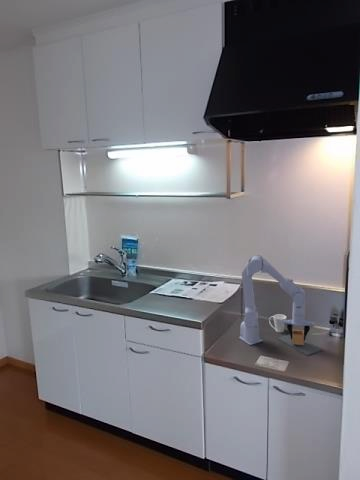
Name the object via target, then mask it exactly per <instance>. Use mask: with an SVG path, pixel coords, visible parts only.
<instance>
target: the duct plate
mask: <svg viewBox="0 0 360 480" xmlns="http://www.w3.org/2000/svg"><path fill="white" fill-rule="evenodd" d="M277 340H279V341H280V342H282V343H283V344H286V345H288V346H289V347H291V348H293V349H294V350H295V351H297V352H299V353H301V354H303V355H305V356H306V357H309V356H312V355H314V354H316V353H319V352H322V351H323V350H324V348H322V347H320V346H318V345H316V344H315V343H312V342H310V341H308V340H306V339H305V341H304V345H298V344H292V339H291V336H290V333H288V334H285V335H282V336H279V337H277Z"/></svg>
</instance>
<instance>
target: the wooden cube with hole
mask: <svg viewBox="0 0 360 480" xmlns="http://www.w3.org/2000/svg"><path fill="white" fill-rule="evenodd" d="M292 344H298V345H304V330H300V329H292Z"/></svg>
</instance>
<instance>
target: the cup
mask: <svg viewBox="0 0 360 480" xmlns="http://www.w3.org/2000/svg"><path fill="white" fill-rule="evenodd" d="M271 318H273V324H274V326H273V324H272V322H271ZM283 320H287V316H286V315H285V314H280V313H277V314H274V315H271V316H270V317H269V318H268V323H269V325H270V326H271V328H273V330H275V332H277V333H284V332H285V327H286V325H283Z"/></svg>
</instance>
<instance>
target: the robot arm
mask: <svg viewBox="0 0 360 480" xmlns="http://www.w3.org/2000/svg"><path fill="white" fill-rule="evenodd" d="M259 272H260V273H261V274H262V273H264V274H265V273H266V274H268V275H269V276H271V277H272V278H273V279H274V280H275V281H277V282H278V283H279V287H280V288H281V289H282V290H283V291H285V293H287V294H288V295H289V296H290V297H292V301H293V302H292V315H291V316H292V319H286V320H283V325H285V326H286V328H287V330H288V334H290V336H291V339H292V330H293V326H296V327H303V331H304V341H305V340H306V337H307V335H308V333H309V331H310V329H311V328H314V329H315V321H309V320H305V319H306V300H307V299H306V291H305V290H304V288H303V287H300V286H299V285H297V284H296V283H294V280H293V279H292V278H289V277H284V276H283V275H282V274H281V273H280V272H279V271H278V270H277V269H276V268H275V267H274V266H273V265H272V264H271V263H270V262H269V261H268V260H267V259H265V258H264V257H263V256H261V255H259V254H254V255H253V256H252V257H251V258H250V259H249V260H248V261H247V263H246V265H245V267H244V268H243V270H242V272H241V280H242V288H243V289H242V290H243V296H244V297H243V299H244V305H245V306H244V307H245V309H244V314H245V316H244V319H243V321H242V322H241V323H240V327H239V329H240V331H239V332H240V333H239V334H240V336H239V337H238V338H239V339H240V340H241V341H243V342H245V343H246V344H248V345H249V346H251V345H255V344H257V343H261V342H263V339H261V338H260V333H259V332H260V331H259V330H260V327H259V326H260V324H259V321H258V319H259V311H258V310H257V306H256V302H255V293H254V284H253V283H254V282H253V276H254V275H255V274H256V273H259Z"/></svg>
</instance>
